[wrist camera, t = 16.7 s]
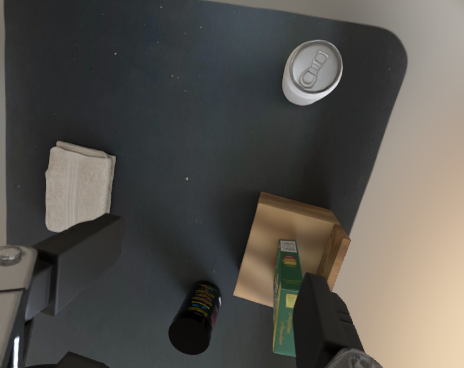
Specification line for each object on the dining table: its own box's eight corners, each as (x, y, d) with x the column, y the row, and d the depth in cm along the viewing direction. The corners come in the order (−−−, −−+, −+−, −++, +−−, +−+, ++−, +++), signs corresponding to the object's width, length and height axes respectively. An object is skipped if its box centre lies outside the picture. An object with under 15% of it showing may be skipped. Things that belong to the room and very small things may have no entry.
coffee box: (277, 235, 39) (279, 289, 26) (297, 238, 39) (308, 293, 26) (272, 284, 41) (271, 355, 28) (291, 287, 40) (298, 360, 28)
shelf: (260, 191, 45) (256, 213, 34) (330, 209, 44) (351, 240, 32) (238, 271, 49) (228, 317, 38) (302, 290, 48) (311, 343, 36)
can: (273, 92, 41) (274, 79, 30) (297, 52, 40) (307, 23, 28) (309, 113, 41) (323, 109, 30) (334, 75, 40) (359, 54, 28)
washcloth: (118, 151, 48) (108, 153, 45) (110, 241, 52) (100, 248, 49) (59, 138, 49) (44, 139, 46) (56, 227, 53) (43, 233, 50)
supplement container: (186, 279, 51) (165, 316, 41) (221, 279, 50) (207, 318, 40) (190, 309, 53) (170, 353, 42) (223, 311, 51) (211, 356, 41)
